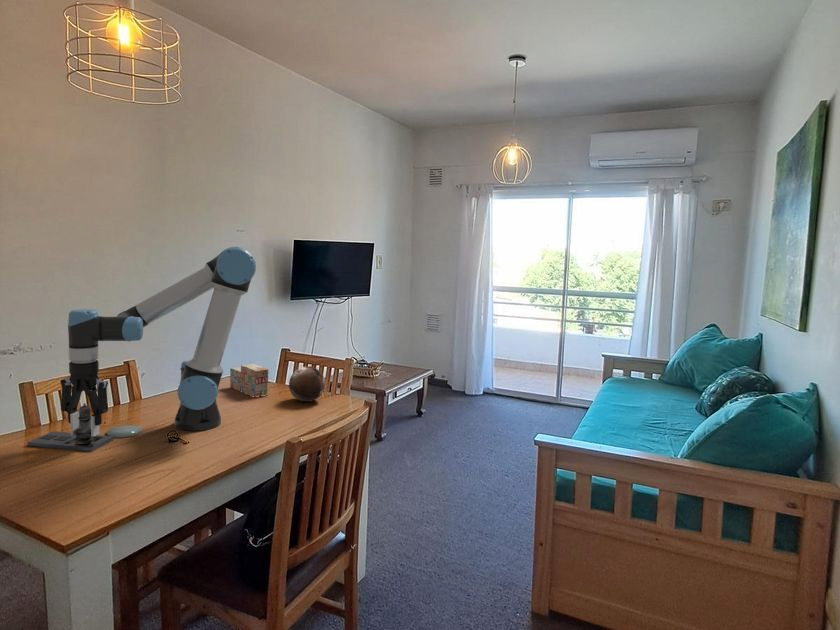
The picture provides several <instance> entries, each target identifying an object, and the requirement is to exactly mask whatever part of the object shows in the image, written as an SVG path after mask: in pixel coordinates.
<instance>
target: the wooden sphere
mask: <svg viewBox="0 0 840 630" xmlns="http://www.w3.org/2000/svg"><path fill="white" fill-rule="evenodd" d="M325 387H326V380H325V377H324V375H323V373H322V372H321V371H320V370H319V369H317V368H315V367H314V366H301V367H299V368H298V369H296V370H295V371H294V372H293V373H292V374H291V375H290V378H289V382H288V388H289V392H290V393H291V395H292V396H293V397H294V399H296V400H297V401H300V400H301V401H300V402H303V401H310V402H312V401H311V400H314V401H315V399H316V400H317V399H319V398H320V397H321V396H322V394H323V393H324V391H325Z"/></svg>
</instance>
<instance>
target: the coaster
mask: <svg viewBox="0 0 840 630" xmlns="http://www.w3.org/2000/svg"><path fill="white" fill-rule="evenodd" d="M142 432H143V431H142V427H141V426H138V425H133V424H132V425H120V426H119V425H118V426H115V427H112V428H109V429H108V430H107V431H106V436H112V437H113V439H124V438H132V437H135V436H137V435H140V434H141V433H142Z"/></svg>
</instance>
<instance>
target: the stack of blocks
mask: <svg viewBox="0 0 840 630" xmlns="http://www.w3.org/2000/svg"><path fill="white" fill-rule="evenodd" d="M229 373H230V374H229V375H230V382H229V383H230V386H229V388H230V387H231V389H233V388H234V389H233V390H235V389H236V390H235V391H237V390H239V391H242V392H244V393H247V394H249V395H251V396H254V397H256V396H261V395H266V394H267V395H268V384H269V368H266V367H265V366H261V365H258V364H256V363H250V364H249V363H248V364H241V365H240V366H237V367H236V366H235V367H230V371H229ZM239 391H238V392H239ZM242 392H241V393H242ZM244 393H243V394H244ZM251 396H250V397H251Z"/></svg>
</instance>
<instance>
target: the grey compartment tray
mask: <svg viewBox="0 0 840 630" xmlns="http://www.w3.org/2000/svg"><path fill="white" fill-rule="evenodd" d="M93 438H95V441H93V442H91V443H89V444H88V445H84V444H73V443H75V441H76V440H77V439H79V438H78V437H76V435H75V434H74V435H71V432H67V431H56V430H55V431H54V430H52V431H51V432H48V433H46V434H43V435H41V436H39V437H36V438H34V439H32V440H29V441H27V447H34V446H36V447H37V448H45V449H55V450H56V449H58V450H69V451H78V452H91V453H92V452H94V451H96V450H97V449H100V448H101V447H103V446H105V445H107V444H109V443H111V442H113V441H114V438H113V437H112V436H107V435H100V434H98V435H96V436H94V437H93ZM36 447H35V448H36Z"/></svg>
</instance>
